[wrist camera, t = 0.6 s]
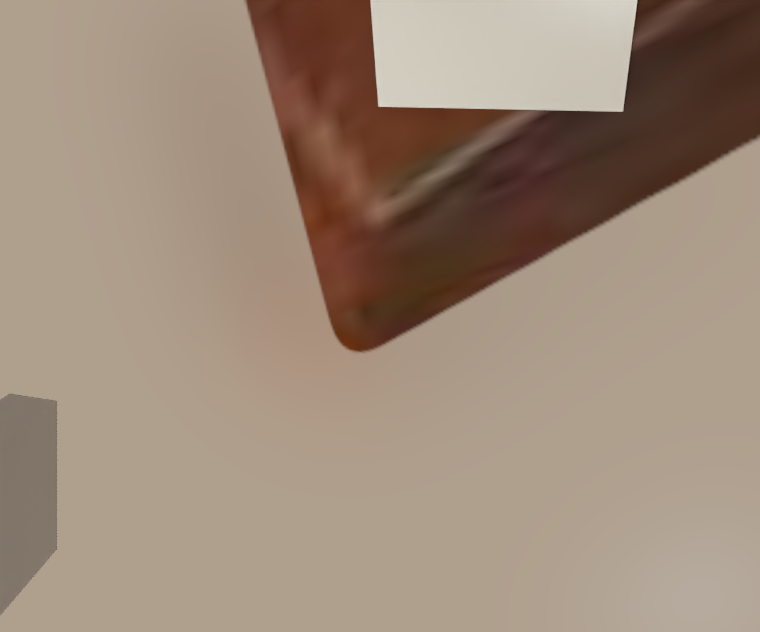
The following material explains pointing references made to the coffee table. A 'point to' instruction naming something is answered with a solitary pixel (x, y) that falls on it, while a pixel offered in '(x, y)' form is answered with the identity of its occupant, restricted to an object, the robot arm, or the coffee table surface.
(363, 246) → the coffee table surface
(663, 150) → the coffee table surface
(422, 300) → the coffee table surface
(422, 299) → the coffee table surface
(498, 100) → the coaster
